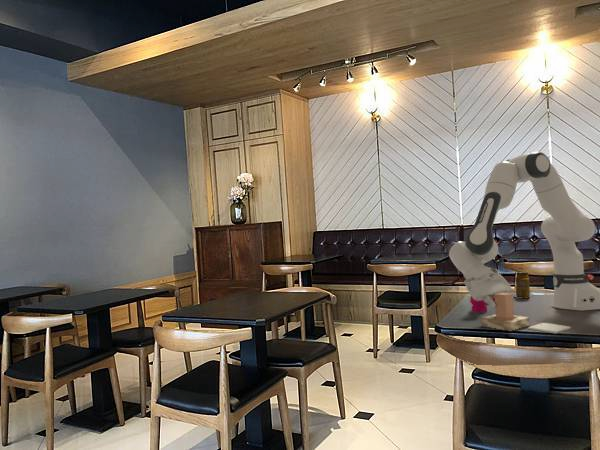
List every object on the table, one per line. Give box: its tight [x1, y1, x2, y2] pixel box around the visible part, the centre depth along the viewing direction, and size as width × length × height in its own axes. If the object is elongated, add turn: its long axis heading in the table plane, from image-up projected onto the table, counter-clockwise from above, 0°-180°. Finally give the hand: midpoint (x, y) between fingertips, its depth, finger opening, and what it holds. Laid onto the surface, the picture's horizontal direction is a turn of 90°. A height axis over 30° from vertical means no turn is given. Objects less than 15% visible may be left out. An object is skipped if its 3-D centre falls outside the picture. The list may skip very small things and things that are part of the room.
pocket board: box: [480, 313, 531, 332], centre depth 184 cm, size 12×12×3 cm
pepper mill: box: [469, 295, 488, 313], centre depth 213 cm, size 7×7×20 cm
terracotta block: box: [494, 292, 515, 320], centre depth 184 cm, size 4×4×12 cm
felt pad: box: [527, 322, 572, 334], centre depth 176 cm, size 10×10×1 cm
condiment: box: [515, 271, 531, 298], centre depth 238 cm, size 7×8×12 cm
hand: (503, 305), depth 184 cm, fingers open, 8 cm apart
